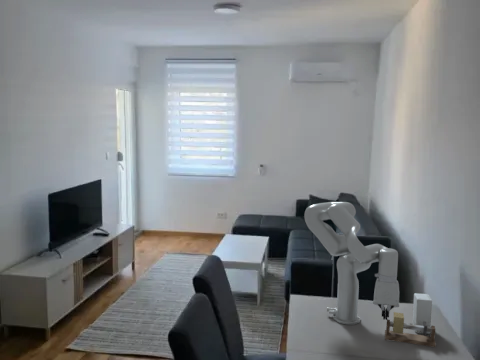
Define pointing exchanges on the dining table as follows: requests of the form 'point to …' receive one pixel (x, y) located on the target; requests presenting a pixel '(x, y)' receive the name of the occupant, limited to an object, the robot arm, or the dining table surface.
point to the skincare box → (422, 310)
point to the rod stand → (412, 337)
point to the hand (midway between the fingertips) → (385, 318)
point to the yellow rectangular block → (398, 322)
